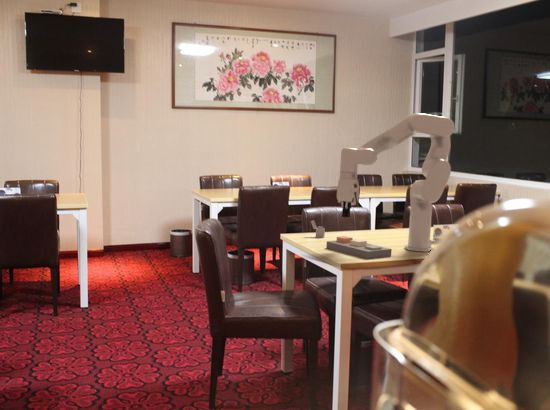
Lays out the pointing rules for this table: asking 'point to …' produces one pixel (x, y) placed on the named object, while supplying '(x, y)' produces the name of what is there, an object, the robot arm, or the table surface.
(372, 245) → the slate button
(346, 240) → the terracotta button
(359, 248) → the button panel
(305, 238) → the table surface
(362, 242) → the cream button
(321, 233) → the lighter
